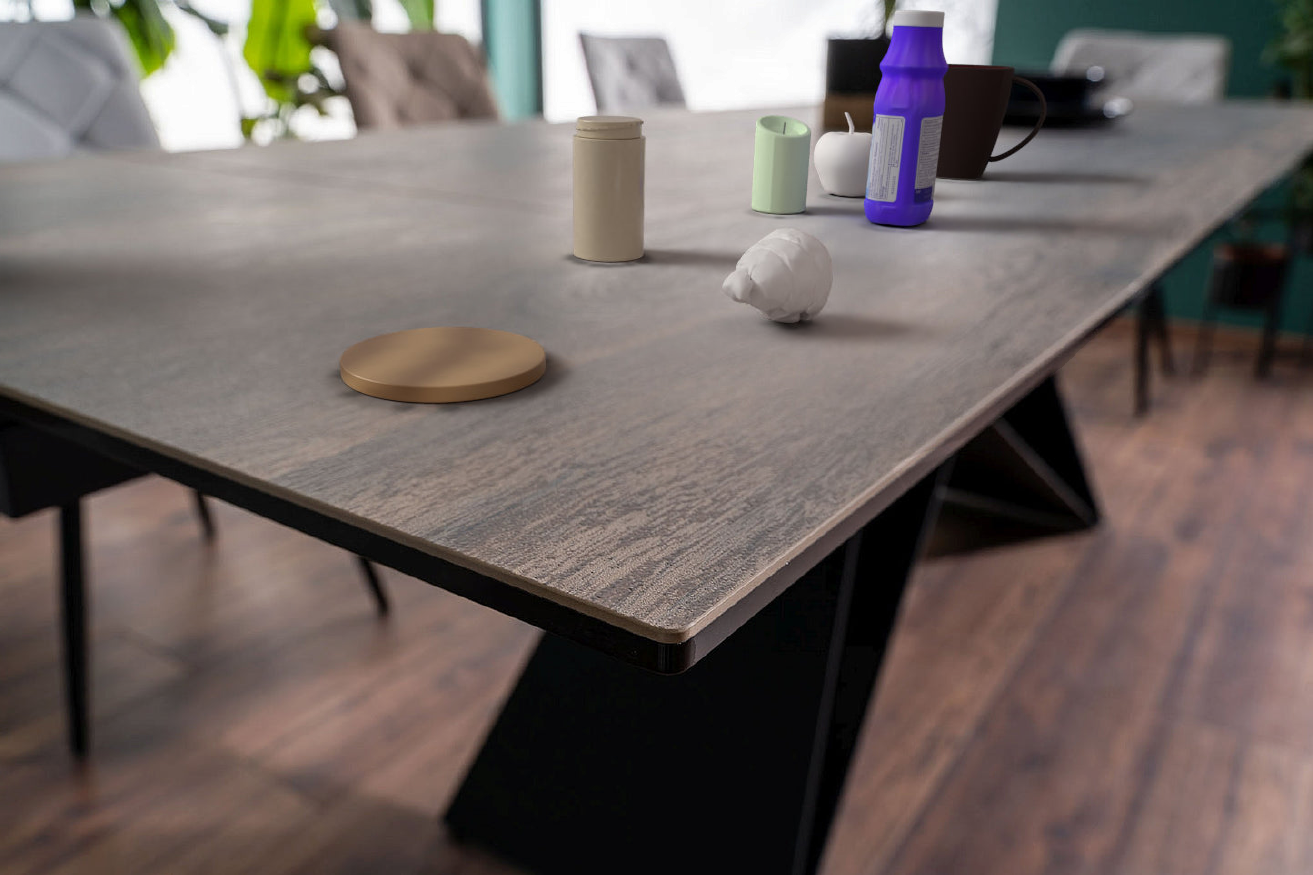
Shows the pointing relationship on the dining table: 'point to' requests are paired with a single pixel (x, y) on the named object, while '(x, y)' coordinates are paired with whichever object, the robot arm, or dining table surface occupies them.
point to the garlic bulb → (783, 276)
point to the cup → (977, 118)
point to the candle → (780, 165)
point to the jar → (608, 188)
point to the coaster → (442, 364)
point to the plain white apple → (843, 161)
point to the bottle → (907, 121)
